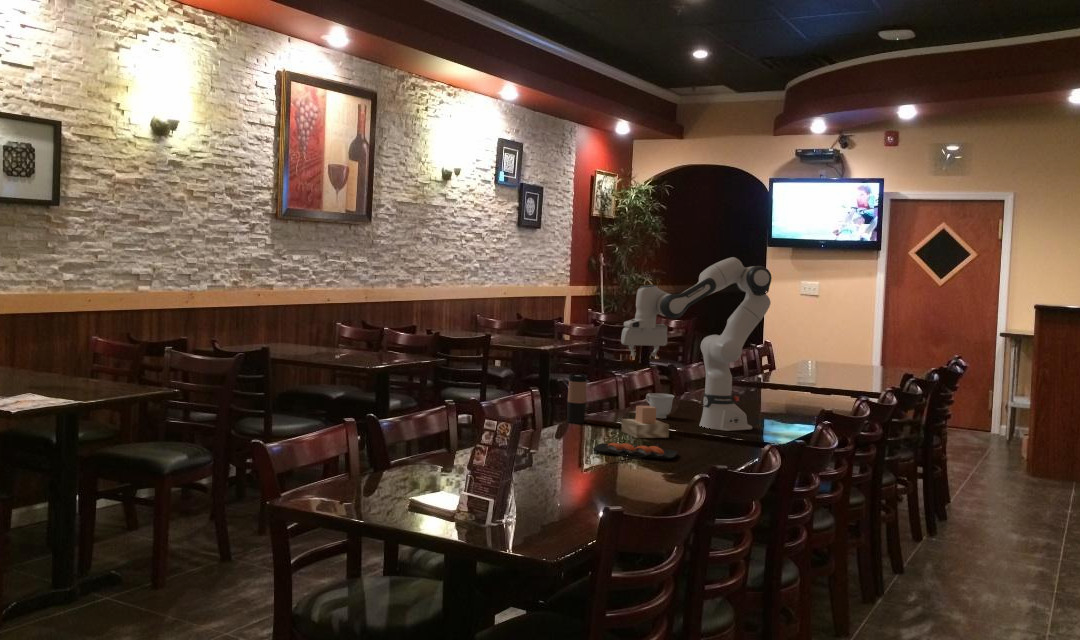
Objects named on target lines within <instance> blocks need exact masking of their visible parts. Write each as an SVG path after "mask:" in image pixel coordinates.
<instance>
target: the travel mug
mask: <svg viewBox="0 0 1080 640" xmlns="http://www.w3.org/2000/svg"><path fill="white" fill-rule="evenodd" d="M587 380H588V375H587V374H581V373H580V374H579V373H569V374H568V387H567V390H568V391H567V405H566V407H567V408H566V409H567V410H566V411H567V413H566V414H567V416H566V418H567V420H566V422H567V423H568V424H574V425H575V424H578V425H581V424H584V423H585V415H586V404H587V403H586V402H587V384H588V383H587V382H588V381H587Z"/></svg>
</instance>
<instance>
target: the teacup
mask: <svg viewBox="0 0 1080 640" xmlns="http://www.w3.org/2000/svg"><path fill="white" fill-rule="evenodd" d="M674 398H675V395H673V394H668V393H660V392H659V393H658V392H655V393H652V392H651V393H647V394H646V395H645V400H646V402H647V404H649V406H652V407H655V408H656V419H667V416H668V415H670V413H671V411H672V406H673V401H674Z"/></svg>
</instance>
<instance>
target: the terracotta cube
mask: <svg viewBox="0 0 1080 640" xmlns="http://www.w3.org/2000/svg"><path fill="white" fill-rule="evenodd" d="M634 419H635V421H637V422H640V423H656V420H657V418H656V408H655V407H652V406H650V405H636V407H635V418H634Z"/></svg>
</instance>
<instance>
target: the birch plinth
mask: <svg viewBox="0 0 1080 640" xmlns="http://www.w3.org/2000/svg"><path fill="white" fill-rule="evenodd" d="M635 419H636V418H622V419H621V428H620V429H621V430H620V431H621V432H622V433H624V434H626V435H629V436H631V437H633V438H634V439H645V438H647V439H655V438H656V439H657V438H658V439H660V438H669V437H670V424H668V423H666V422H662V421H660V420H657V419H656V423H640V422H637V421H635Z"/></svg>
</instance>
